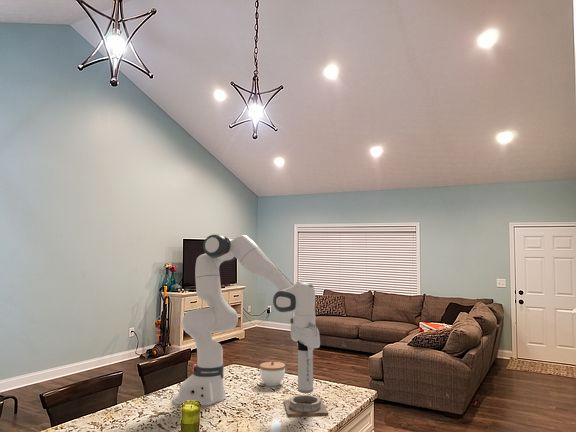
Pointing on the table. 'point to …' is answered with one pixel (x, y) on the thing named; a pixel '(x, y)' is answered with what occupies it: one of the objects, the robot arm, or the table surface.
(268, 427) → the table surface
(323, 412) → the collar board
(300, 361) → the travel mug
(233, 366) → the table surface
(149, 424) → the table surface
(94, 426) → the table surface
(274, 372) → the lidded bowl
